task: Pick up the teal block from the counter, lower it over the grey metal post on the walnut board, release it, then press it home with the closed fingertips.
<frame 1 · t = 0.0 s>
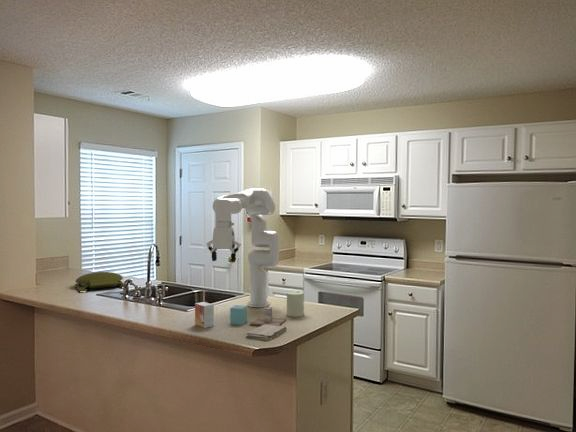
hand: (223, 261, 215), 31 cm above the table, fingers open, 9 cm apart
washcloth: (266, 335, 204), on the table
small box: (204, 325, 218), on the table
post board: (268, 323, 222), on the table
green cushion: (100, 287, 317), on the table
can: (295, 314, 238), on the table
teal block: (238, 322, 223), on the table
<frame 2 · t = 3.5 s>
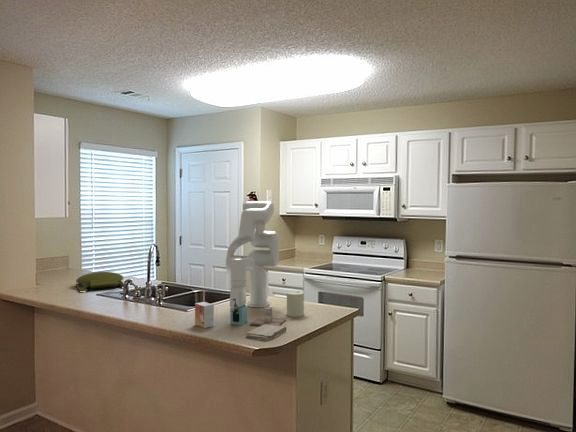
hand: (238, 319, 223), 2 cm above the table, fingers closed on teal block, 6 cm apart
teal block: (238, 322, 223), on the table, touching gripper
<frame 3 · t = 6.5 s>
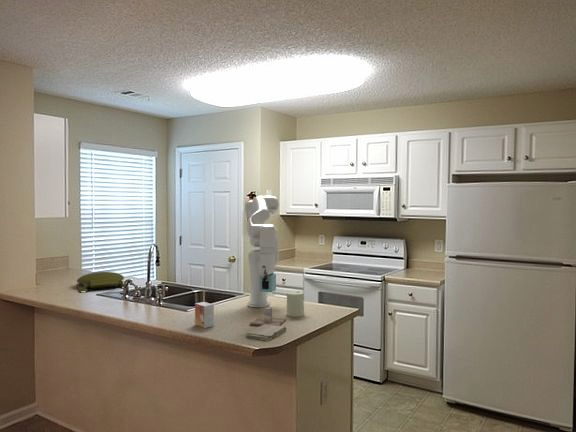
hand: (267, 287, 221), 18 cm above the table, fingers closed on teal block, 6 cm apart
teal block: (267, 290, 221), point 16 cm above the table, touching gripper
when the fingers open (4 cm above the table, at t = 9.5 s): teal block drops 1 cm, resting on post board.
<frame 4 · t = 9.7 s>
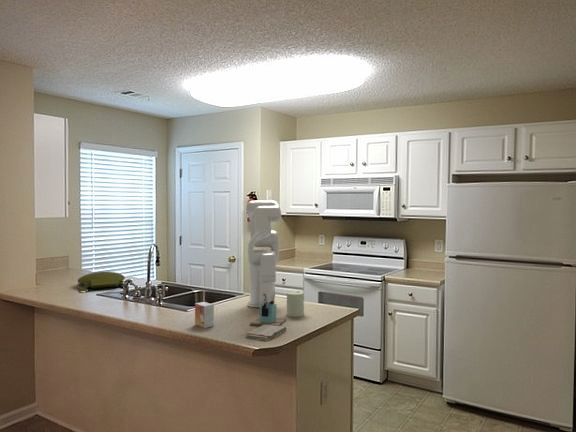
hand: (268, 313, 222), 5 cm above the table, fingers open, 8 cm apart
teal block: (268, 321, 222), point 1 cm above the table, touching post board
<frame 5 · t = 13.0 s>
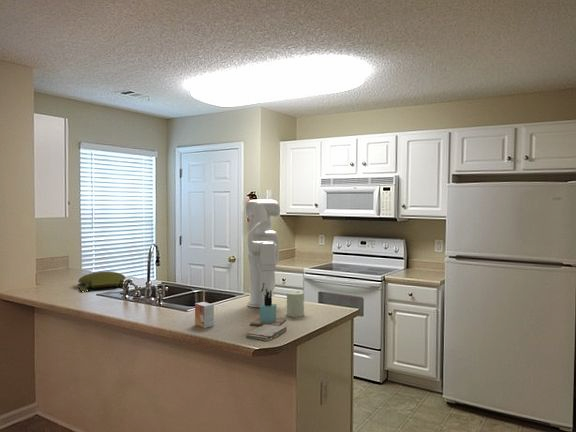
hand: (268, 305, 221), 9 cm above the table, fingers closed
teal block: (268, 321, 222), point 1 cm above the table, touching gripper, post board
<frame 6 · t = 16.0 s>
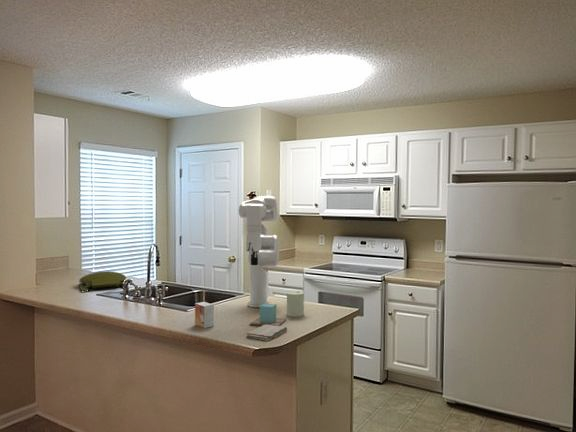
hand: (254, 264, 231), 27 cm above the table, fingers closed
teal block: (268, 321, 222), point 1 cm above the table, touching post board
at the end: teal block 0.1 cm from the post board (horizontally); teal block point 1.0 cm above the table; teal block tilted 0° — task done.
